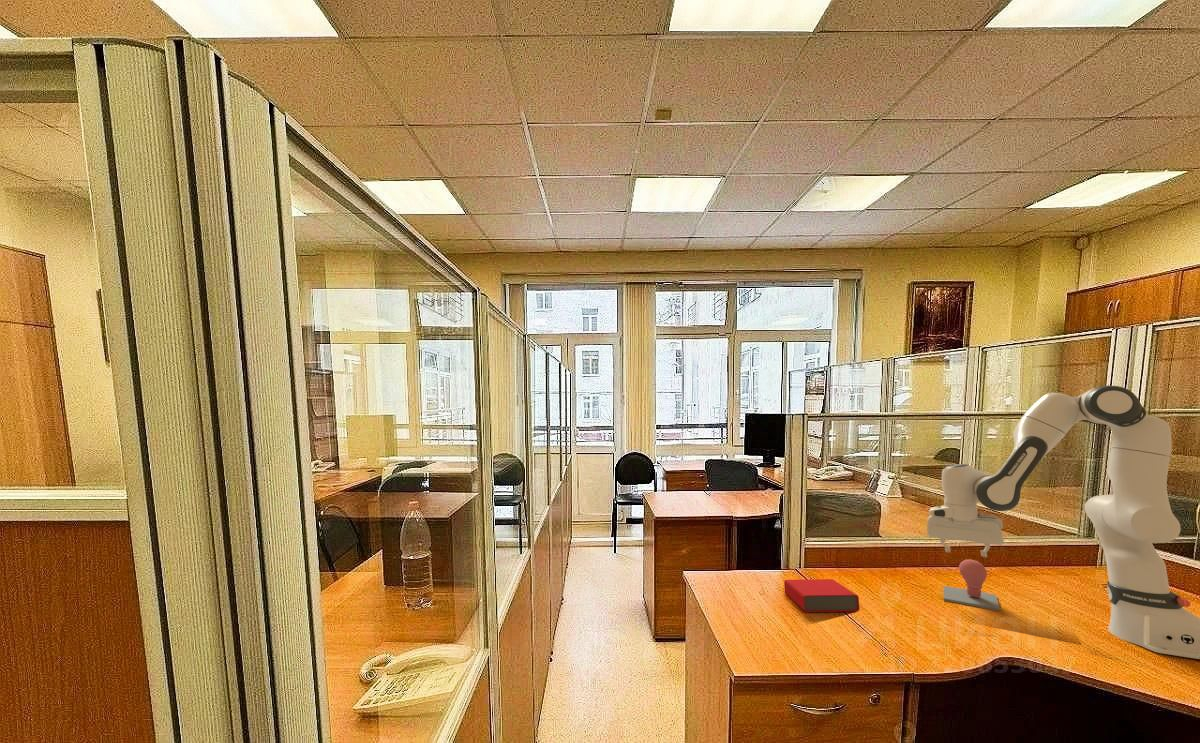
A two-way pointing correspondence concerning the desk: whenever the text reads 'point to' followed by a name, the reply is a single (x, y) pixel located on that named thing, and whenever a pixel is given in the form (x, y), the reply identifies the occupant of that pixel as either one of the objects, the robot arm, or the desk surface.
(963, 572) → the light bulb
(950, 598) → the mat
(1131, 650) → the desk surface
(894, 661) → the desk surface
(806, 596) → the red device housing
